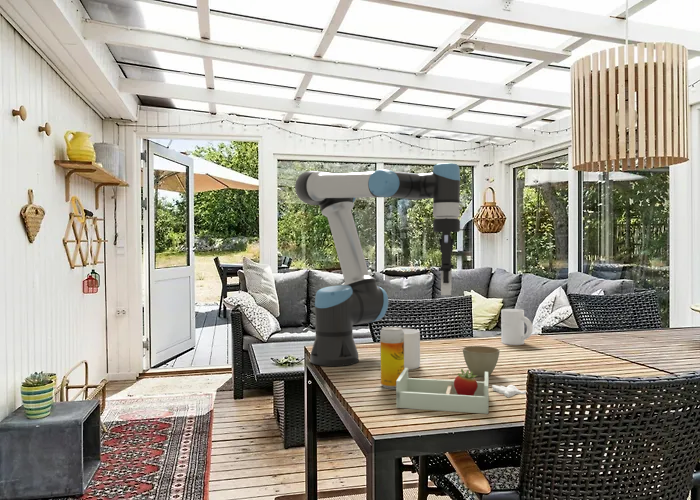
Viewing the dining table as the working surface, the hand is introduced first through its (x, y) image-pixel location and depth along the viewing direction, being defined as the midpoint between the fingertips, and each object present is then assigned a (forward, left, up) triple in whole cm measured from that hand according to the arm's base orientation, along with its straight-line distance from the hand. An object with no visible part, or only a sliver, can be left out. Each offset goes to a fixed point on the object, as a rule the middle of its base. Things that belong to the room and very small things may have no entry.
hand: (446, 292), depth 153 cm
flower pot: (+10, -2, -23) cm, 25 cm away
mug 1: (-14, +2, -23) cm, 27 cm away
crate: (+1, -30, -23) cm, 38 cm away
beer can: (-13, -19, -23) cm, 32 cm away
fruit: (+6, -30, -23) cm, 38 cm away
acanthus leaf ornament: (+17, -18, -23) cm, 34 cm away
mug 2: (+21, +47, -23) cm, 57 cm away
